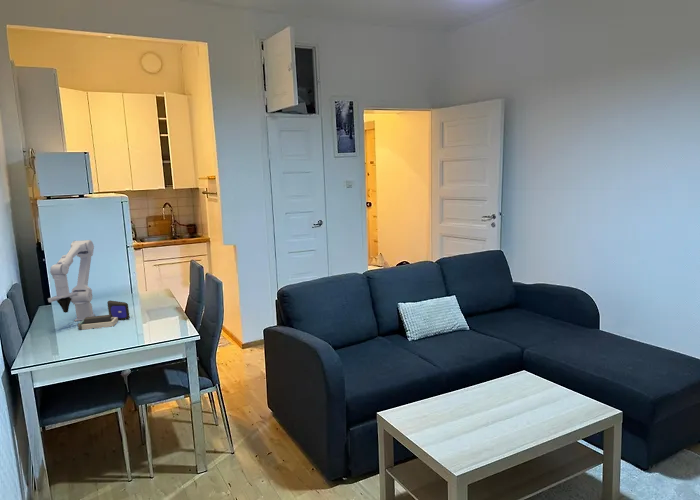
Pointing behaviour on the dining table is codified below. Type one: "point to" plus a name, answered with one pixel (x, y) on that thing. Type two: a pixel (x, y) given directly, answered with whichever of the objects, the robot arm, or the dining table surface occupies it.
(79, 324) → the sage green post
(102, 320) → the dark brown rectangular block
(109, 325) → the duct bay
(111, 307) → the leaning round-cornered charcoal block
